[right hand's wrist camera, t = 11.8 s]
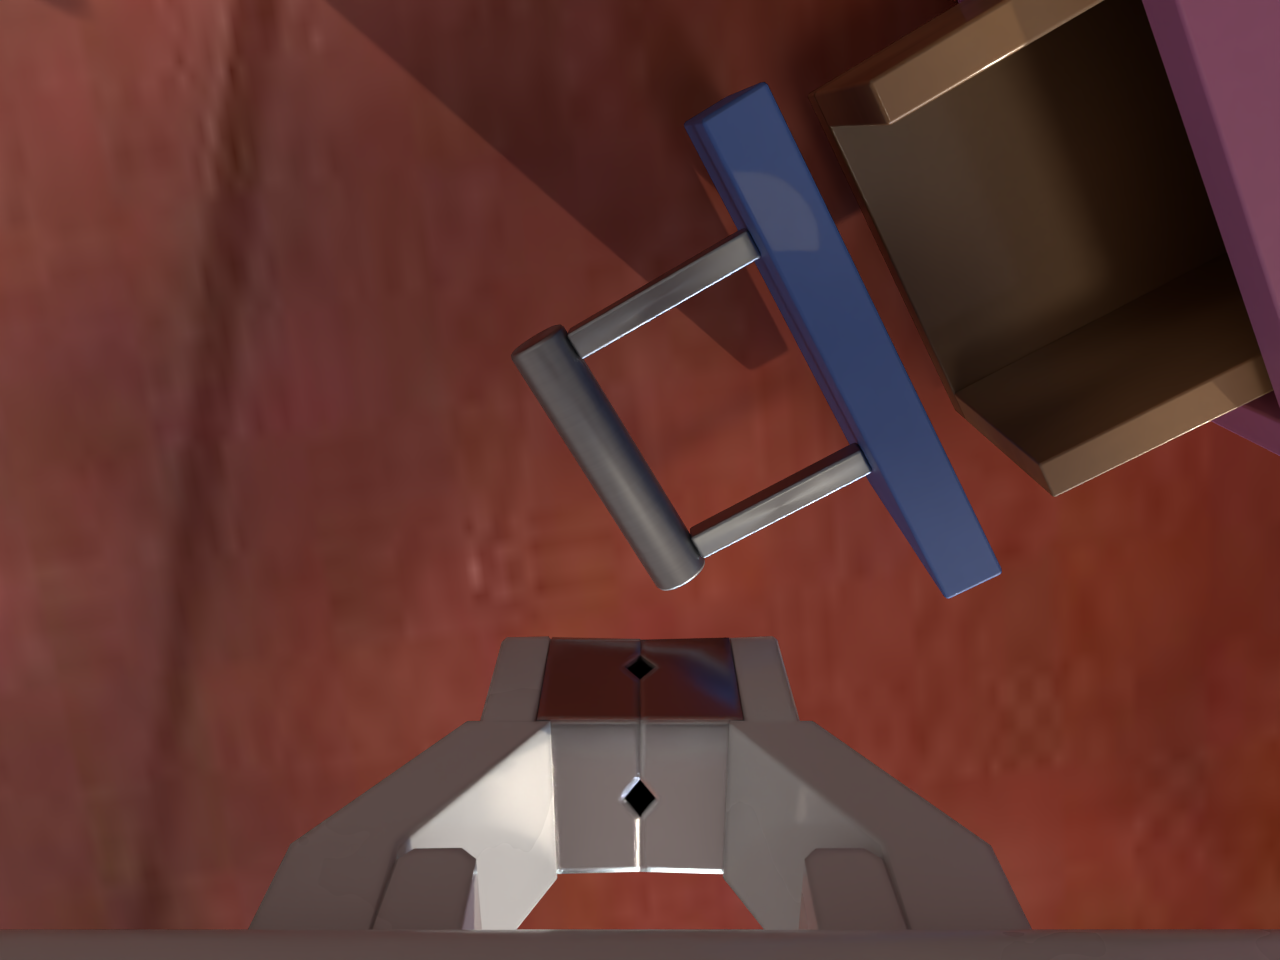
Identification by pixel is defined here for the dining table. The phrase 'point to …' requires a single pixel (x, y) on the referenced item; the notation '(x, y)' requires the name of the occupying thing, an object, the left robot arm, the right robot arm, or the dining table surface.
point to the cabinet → (1235, 157)
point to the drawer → (953, 277)
